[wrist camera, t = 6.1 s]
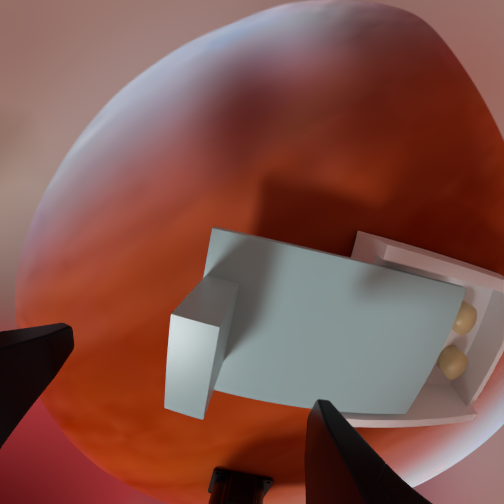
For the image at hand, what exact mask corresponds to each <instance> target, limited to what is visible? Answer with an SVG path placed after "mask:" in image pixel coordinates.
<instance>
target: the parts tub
mask: <svg viewBox="0 0 504 504" xmlns="http://www.w3.org/2000/svg"><path fill="white" fill-rule="evenodd" d="M351 258H354V259H358V260H362V261H366V262H370V263H375V264H379V265H383V266H387V267H391V268H395V269H399V270H403V271H407V272H411V273H415V274H418V275H422V276H426V277H430V278H434V279H438V280H442V281H446V282H449V283H453V284H457V285H461V286H463V287H464V288H466V289H467V290H466V292H465V295H464V298H463V301H462V304H461V306H460V309H459V312H458V314H457V317H456V319H455V322H454V324H453V326H452V329H451V331H450V333H449V336H448V338H447V340H446V342H445V344H444V346H443V349H442V351H441V353H440V355H439V357H438V359H437V361H436V363H435V365H434V367H433V369H432V370H431V372H430V374H429V376H428V378H427V380H426V381H425V383H424V385H423V387H422V388H421V390H420V392H419V393H418V395H417V397H416V398H415V400H414V402H413V403H412V405H411V406H410V408H409V410H408V411H407V413H406V414H370V413H352V412H340V413H341V414H342V415H343V417H344V418H345V419H346V420H347V421H348V422H349V423H350V424H351V426H352V427H372V428H392V427H418V426H431V425H442V424H450V423H458V422H465V421H471V420H474V418H475V417H476V415H477V412H476V411H475V410H474V408H473V407H472V405H473V404H474V402H475V401H476V399H477V398H478V396H479V394H480V393H481V391H482V390H483V388H484V386H485V385H486V383H487V381H488V379H489V378H490V376H491V374H492V372H493V370H494V368H495V367H496V365H497V363H498V361H499V359H500V357H501V355H502V353H503V351H504V276H503V275H501V274H498V273H496V272H493V271H490V270H487V269H484V268H481V267H478V266H475V265H472V264H469V263H466V262H463V261H460V260H457V259H454V258H451V257H448V256H444V255H441V254H438V253H435V252H432V251H428V250H425V249H422V248H418V247H415V246H412V245H408V244H405V243H401V242H398V241H394V240H391V239H387V238H384V237H380V236H376V235H373V234H369V233H365V232H362V231H358V232H357V236H356V240H355V244H354V247H353V251H352V255H351Z"/></svg>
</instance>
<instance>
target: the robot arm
mask: <svg viewBox="0 0 504 504" xmlns="http://www.w3.org/2000/svg"><path fill="white" fill-rule="evenodd" d="M73 349H74V338H73V330H72V327H71V326H69V325H67V324H65V323H57V324H51V325H44V326H37V327H31V328H23V329H16V330H9V331H1V332H0V449H1V447H2V445H3V444H4V443H5V441H6V440H7V438H8V437H9V436H10V434H11V433H12V431H13V430H14V429H15V427H16V426H17V425H18V423H19V422H20V421H21V419H22V418H23V417H24V415H25V414H26V413H27V411H28V410H29V409H30V407H31V406H32V405H33V403H34V402H35V401H36V400H37V399H38V397H39V396H40V395H41V394H42V392H43V391H44V390H45V389H46V387H47V386H48V385H49V384H50V382H51V381H52V380H53V379H54V377H55V376H56V375H57V373H58V372H59V370H60V369H61V367H62V366H63V364H64V363H65V361H66V360H67V358H68V357H69V355H70V354H71V352H72V351H73ZM272 484H273V479H272V478H267V477H260V476H254V475H248V474H242V473H237V472H232V471H227V470H222V469H217V468H216V469H214V470H213V474H212V478H211V482H210V485H209V489H208V492H209V493H211V496H210V500H209V504H263V498H264V496H265V495H266V493H267V492H268V490H269V488H270V487H271V485H272ZM305 486H306V504H432V503H431V502H429V501H428V500H427V499H425V498H424V497H423V496H422V495H420V494H419V493H418V492H417V491H415V490H414V489H413V488H412V487H410V486H409V485H408V484H407V483H406V482H405V481H403V480H402V479H401V478H400V477H399V476H398V475H397V474H396V473H395V472H394V471H393V470H392V469H391V468H390V467H389V466H388V465H387V464H385V461H384V460H383V459H382V458H381V457H380V456H379V455H378V454H377V453H376V452H375V451H374V450H373V449H372V448H371V446H370V445H369V444H368V443H367V442H366V441H365V440H364V439H363V438H362V437H361V435H360V434H359V433H358V432H357V431H356V430H355V429H354V428H353V427H352V426H351V424H350V423H349V422H348V421H347V420H346V419H345V418H344V417H343V415H342V414H341V413H340V412H339V411H338V410H337V409H336V407H335V406H334V405H333V404H332V403H331V402H330V401H329V400H324V399H318V400H316V402H315V403H314V406H313V408H312V410H311V412H310V414H309V416H308V420H307V432H306V445H305Z"/></svg>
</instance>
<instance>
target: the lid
mask: <svg viewBox="0 0 504 504" xmlns="http://www.w3.org/2000/svg"><path fill="white" fill-rule="evenodd" d="M466 290H467V289H466V288H464V287H463V286H461V285H457V284H453V283H449V282H446V281H442V280H438V279H434V278H430V277H426V276H422V275H418V274H415V273H411V272H407V271H403V270H399V269H395V268H391V267H387V266H383V265H379V264H375V263H370V262H366V261H362V260H358V259H354V258H350V257H346V256H342V255H337V254H333V253H329V252H325V251H320V250H316V249H312V248H308V247H303V246H299V245H295V244H290V243H286V242H282V241H277V240H273V239H269V238H264V237H260V236H255V235H251V234H246V233H242V232H237V231H233V230H228V229H224V228H219V227H214V228H212V233H211V238H210V243H209V249H208V255H207V260H206V266H205V272H204V278H203V279H202V280H201V281H200V282H199V284H198V285H197V286H196V287H195V288H194V289H193V290H192V291H191V292H190V294H189V295H188V296H187V297H186V298H185V299H184V300H183V301H182V302H181V304H180V305H179V306H178V307H177V308H176V309H175V310H174V311H173V312H172V314H171V320H170V330H169V342H168V354H167V368H166V385H165V408H166V409H169V410H172V411H175V412H178V413H182V414H185V415H188V416H192V417H195V418H199V419H202V420H203V419H204V416H205V413H206V410H207V407H208V404H209V402H210V399H211V396H212V393H213V390H217V391H221V392H225V393H229V394H233V395H238V396H242V397H247V398H251V399H256V400H261V401H267V402H272V403H278V404H284V405H290V406H296V407H303V408H311V409H312V408H313V406H314V403H315V402H316V400H318V399H324V400H329V401H330V402H331V403H332V404H333V405H334V406H335V407H336V409H337V410H338V411H339V412H352V413H370V414H406V413H407V411H408V410H409V408H410V406H411V405H412V403H413V402H414V400H415V398H416V397H417V395H418V393H419V392H420V390H421V388H422V387H423V385H424V383H425V381H426V380H427V378H428V376H429V374H430V372H431V370H432V369H433V367H434V365H435V363H436V361H437V359H438V357H439V355H440V353H441V351H442V349H443V346H444V344H445V342H446V340H447V338H448V336H449V333H450V331H451V329H452V326H453V324H454V322H455V319H456V317H457V314H458V312H459V309H460V306H461V304H462V301H463V298H464V295H465V292H466Z"/></svg>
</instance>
